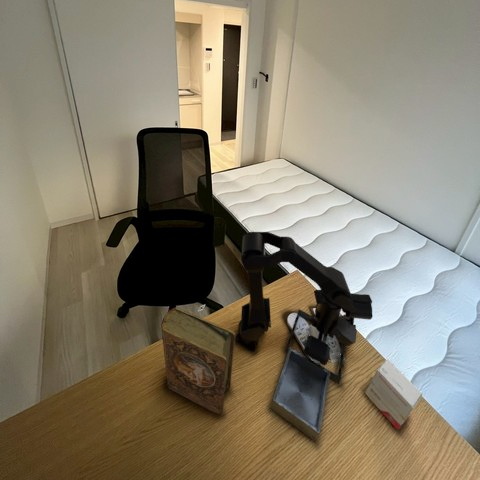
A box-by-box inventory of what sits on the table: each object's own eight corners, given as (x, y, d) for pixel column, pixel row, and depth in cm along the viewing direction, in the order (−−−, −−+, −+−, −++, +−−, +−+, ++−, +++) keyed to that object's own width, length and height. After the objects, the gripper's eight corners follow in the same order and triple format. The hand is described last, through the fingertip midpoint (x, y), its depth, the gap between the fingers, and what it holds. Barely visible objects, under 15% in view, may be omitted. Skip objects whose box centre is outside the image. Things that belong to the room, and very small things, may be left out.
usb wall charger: (320, 333, 78) (323, 326, 77) (324, 358, 72) (327, 350, 70) (307, 331, 79) (310, 324, 77) (311, 356, 72) (313, 348, 71)
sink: (270, 408, 61) (272, 399, 59) (287, 355, 72) (289, 346, 70) (315, 441, 56) (319, 433, 55) (326, 380, 67) (330, 371, 65)
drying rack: (284, 351, 73) (286, 343, 71) (297, 312, 84) (299, 305, 82) (338, 384, 67) (342, 376, 65) (345, 338, 78) (348, 330, 76)
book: (164, 385, 64) (157, 327, 53) (175, 362, 68) (171, 305, 58) (221, 416, 59) (226, 359, 49) (229, 389, 64) (236, 332, 53)
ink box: (406, 417, 62) (424, 394, 57) (396, 432, 59) (415, 409, 54) (373, 380, 68) (387, 356, 63) (363, 392, 65) (377, 369, 60)
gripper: (355, 360, 57) (339, 393, 64) (361, 297, 72) (348, 329, 79) (308, 334, 62) (298, 367, 69) (323, 280, 77) (313, 311, 84)
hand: (316, 342), depth 75 cm, fingers closed on usb wall charger, 7 cm apart
